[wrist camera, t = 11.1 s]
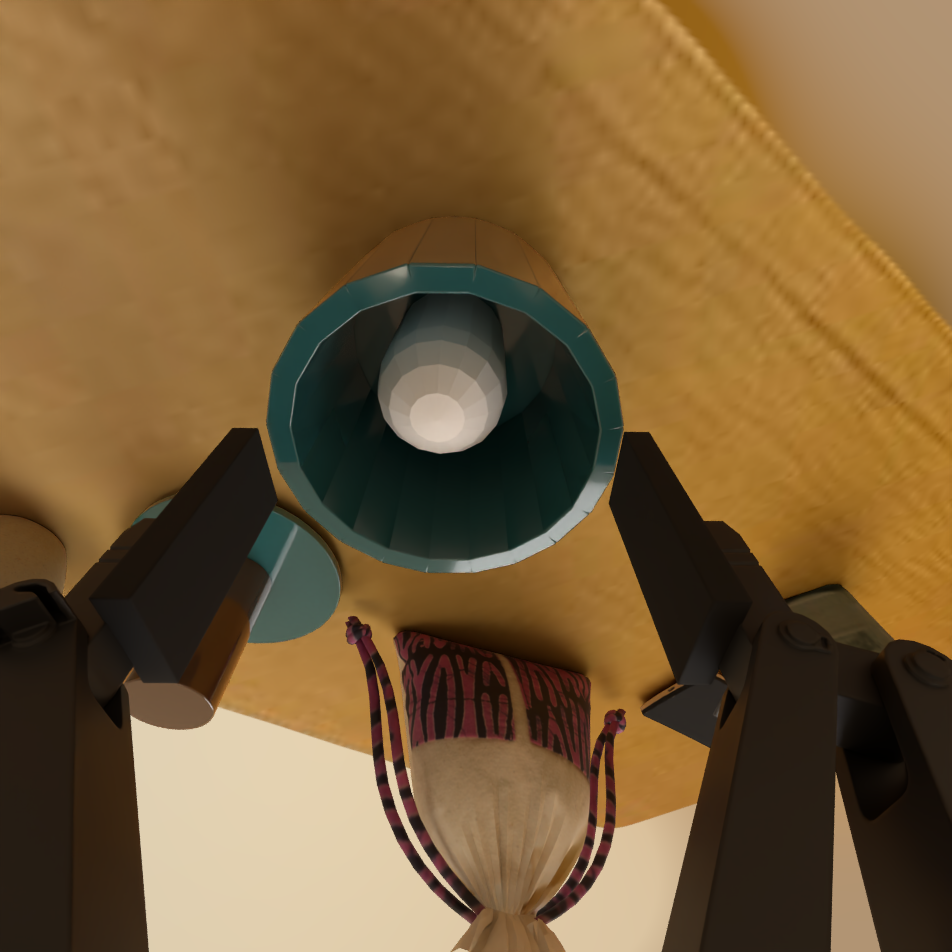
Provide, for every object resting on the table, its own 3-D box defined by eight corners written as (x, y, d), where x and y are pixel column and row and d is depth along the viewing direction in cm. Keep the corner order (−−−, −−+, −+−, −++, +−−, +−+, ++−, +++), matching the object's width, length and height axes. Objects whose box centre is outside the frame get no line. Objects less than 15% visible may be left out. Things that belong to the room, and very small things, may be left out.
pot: (324, 213, 21) (222, 260, 13) (584, 218, 22) (659, 266, 13) (356, 440, 28) (304, 572, 19) (556, 442, 28) (593, 574, 19)
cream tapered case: (815, 562, 34) (898, 664, 27) (866, 586, 35) (957, 688, 28) (754, 611, 37) (816, 714, 30) (803, 631, 38) (872, 734, 31)
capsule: (509, 292, 23) (516, 355, 16) (500, 395, 26) (503, 484, 19) (395, 285, 23) (357, 346, 16) (400, 390, 26) (369, 476, 19)
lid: (98, 482, 30) (-51, 616, 21) (327, 485, 30) (269, 618, 21) (175, 630, 38) (89, 770, 29) (356, 631, 38) (322, 770, 29)
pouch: (653, 661, 40) (769, 995, 24) (602, 712, 44) (673, 1023, 29) (358, 582, 35) (263, 945, 19) (333, 649, 39) (237, 989, 23)
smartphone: (709, 674, 39) (811, 734, 44) (703, 662, 40) (804, 722, 45) (639, 714, 42) (742, 765, 47) (635, 701, 43) (736, 753, 48)
